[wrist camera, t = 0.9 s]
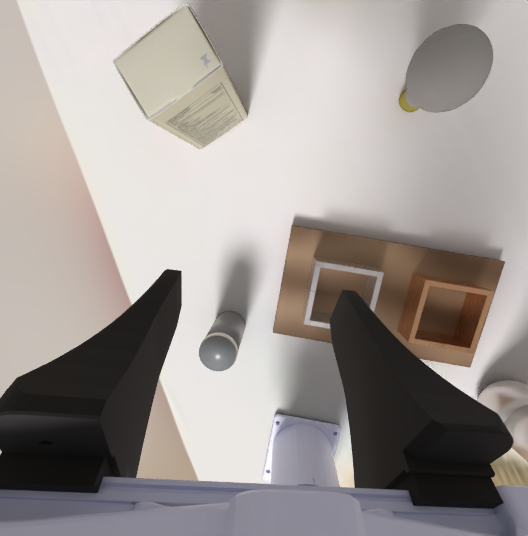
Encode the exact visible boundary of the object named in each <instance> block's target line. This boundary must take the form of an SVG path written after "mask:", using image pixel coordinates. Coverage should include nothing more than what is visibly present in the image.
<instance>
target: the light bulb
mask: <svg viewBox="0 0 528 536" xmlns="http://www.w3.org/2000/svg"><path fill="white" fill-rule="evenodd" d="M492 62H493V50H492V45H491V42H490V40H489V38H488V37H487V35H486V34H485V33H484V32H483V31H482V30H480V29H479V28H477V27H475V26H472V25H467V24H457V25H452V26H448V27H446V28H443V29H440V30H438V31H437V32H435V33H433V34H432V35H431V36H429V37H428V38H427V39H426V40H425V41H424V42H423V43H422V45H421V46H420V47H419V48H418V49H417V50H416V52H415V53H414V55H413V57H412V59H411V62H410V64H409V67H408V70H407V75H406V87H407V89H406V90H405V91H404V92H403V93H402V94H401V96H400V98H399V104H400V106H401V108H402V109H403V110H405V111H407V112H413V111H415V110H417V109H419V108H421V109H423V110H425V111H428V112H445V111H450V110H453V109H455V108H458V107H459V106H461V105H463V104H464V103H466V102H467V101H469V100H470V99H472V98H473V97H474V96H475V95H476V94H477V93H478V91H479V90H480V89H481V87H482V86H483V84H484V83H485V81H486V80H487V78H488V75H489V73H490V70H491V66H492Z"/></svg>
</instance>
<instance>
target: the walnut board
mask: <svg viewBox="0 0 528 536" xmlns="http://www.w3.org/2000/svg"><path fill="white" fill-rule="evenodd" d="M313 256H315V257H321V258H327V259H333V260H339V261H344V262H350V263H356V264H362V265H368V266H374V267H376V268H378V269H379V270H381V271H382V272H384V274H383V278H382V282H381V286H380V290H379V294H378V298H377V302H376V306H375V310H374V313H375V315H376V316H377V317H378V318H379V319H380V320H381V322H382V323H383V324H384V325H385V326H386V327H387V328H388V329H389V330H390V331H391V333H392V334H393V335H394V336H395V337H396V338H397V339H398V340H399V341H400V342H401V343H402V344H403V345H404V346H405V347H406V348H407V349H409V350H410V351H411V352H412V353H413V354H414V355H415V356H416V357H417V358H419V359H425V360H431V361H436V362H442V363H448V364H453V365H459V366H465V367H470V366H471V363H472V360H473V357H474V354H475V352H474V354H471V353H465V352H460V351H454V350H448V349H443V348H437V347H431V346H425V345H420V344H414V343H408V342H407V341H406V340H405V338H404V337H403V336H402V335H401V334H400V333H399V332H398V331H397V329H398V326H399V322H400V318H401V315H402V311H403V307H404V303H405V300H406V296H407V292H408V289H409V285H410V281H411V277H412V274H413V273H415V274H421V275H427V276H433V277H439V278H444V279H450V280H456V281H462V282H468V283H474V284H477V285H479V286H482V287H484V288H487V289H489V290H492V291H494V294H495V291H496V288H497V285H498V282H499V279H500V276H501V273H502V269H503V266H504V263H505V262H504V261H500V260H495V259H489V258H483V257H477V256H471V255H465V254H460V253H454V252H448V251H442V250H436V249H430V248H424V247H418V246H412V245H406V244H400V243H394V242H388V241H382V240H376V239H370V238H364V237H358V236H352V235H346V234H340V233H334V232H328V231H323V230H317V229H311V228H305V227H299V226H293V225H292V228H291V234H290V239H289V245H288V250H287V256H286V261H285V267H284V272H283V278H282V284H281V289H280V295H279V300H278V306H277V311H276V317H275V322H274V328H273V333H278V334H283V335H289V336H295V337H300V338H306V339H312V340H317V341H323V342H329V343H332V338H331V330H330V329H329V328H323V327H317V326H312V325H306V324H304V323H303V317H302V311H303V306H304V301H305V296H306V291H307V286H308V281H309V276H310V271H311V266H312V261H313ZM367 276H368V275H364V274H358V273H352V272H346V271H340V270H335V269H329V268H323V267H321V268H320V272H319V277H318V282H317V287H316V292H315V297H314V302H313V307H312V311H314V312H319V313H325V314H331V315H332V313H333V311H334V309H335V306H336V304H337V301H338V299H339V296H340V294H341V292H342V289H343V290H351V291H356V292H357V293H358V294H359V296H360V297H361V298H362V297H363V293H364V289H365V284H366V280H367ZM466 294H467V292H463V291H458V290H452V289H446V288H440V287H434V286H429V289H428V293H427V297H426V300H425V304H424V307H423V311H422V314H421V318H420V321H419V325H418V328H417V330H423V331H428V332H434V333H440V334H445V335H451V336H454V333H455V330H456V327H457V323H458V320H459V317H460V314H461V311H462V307H463V304H464V301H465V298H466ZM494 294H493V297H494ZM493 297H492V300H493ZM492 300H491V303H492ZM491 303H490V306H491ZM490 306H489V309H490ZM489 309H488V312H489ZM488 312H487V315H488ZM487 315H486V318H487ZM486 318H485V321H486ZM485 321H484V324H485ZM484 324H483V327H484ZM483 327H482V330H483ZM482 330H481V333H482ZM481 333H480V336H481ZM479 339H480V337H479ZM478 342H479V340H478ZM477 345H478V343H477ZM476 348H477V346H476ZM475 351H476V349H475Z"/></svg>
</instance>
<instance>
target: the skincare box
mask: <svg viewBox="0 0 528 536" xmlns="http://www.w3.org/2000/svg"><path fill="white" fill-rule="evenodd" d="M113 63H114V65H115V67H116V69H117V70H118V72H119V74H120V76H121V77H122V79H123V81H124V83H125V84H126V86H127V88H128V90H129V91H130V93H131V95H132V96H133V98H134V100H135V101H136V103H137V105H138V106H139V108H140V110H141V111H142V113H143V115H144V116H145V118H146V119H147V120H149V121H151V122H153V123H154V124H156V125H158V126H160V127H162V128H163V129H165V130H167V131H168V132H170V133H172V134H174V135H175V136H177V137H179V138H181V139H183V140H184V141H186V142H188V143H189V144H191V145H193V146H195V147H196V148H198V149H202V148H203V147H205V146H206V145H208V144H210V143H211V142H213V141H214V140H216V139H217V138H219V137H220V136H222V135H223V134H224V133H226V132H227V131H229V130H230V129H232V128H233V127H234V126H236V125H237V124H238V123H240V122H241V121H242V120H244V119H245V118H247V116H248V115H247V113H246V111H245V109H244V106H243V104H242V102H241V100H240V98H239V96H238V94H237V92H236V90H235V88H234V86H233V84H232V82H231V80H230V77H229V75H228V73H227V71H226V69H225V67H224V65H223V63H222V61H221V59H220V57H219V55H218V53H217V51H216V50H215V48H214V46H213V44H212V42H211V41H210V39H209V37H208V35H207V33H206V32H205V30H204V28H203V26H202V25H201V23H200V21H199V20H198V18H197V16H196V15H195V13H194V12H193V10H192V8H191V7H190V5H189V4H188V3H185V4H183V5H182V6H181V7H179V8H177V9H176V10H175V11H174V12H172V13H171V14H169V15H168V16H167V17H165V18H164V19H163V20H161V21H160V22H159V23H158V24H156V25H155V26H154V27H153V28H151V29H150V30H149V31H148V32H146V33H145V34H144V35H143V36H142V37H140V38H139V39H138V40H137V41H136V42H134V43H133V44H132V45H131V46H129V47H128V48H127V49H126V50H125V51H124V52H123V53H121V54H120V55H119V56H118V57H117V58H116V59H114V61H113Z"/></svg>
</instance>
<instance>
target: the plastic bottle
mask: <svg viewBox="0 0 528 536" xmlns="http://www.w3.org/2000/svg"><path fill="white" fill-rule="evenodd" d="M478 402H479V403H481V404H483V405H484V406H486V407H488V408H489V409H491V410H493V411H494V412H496V413H498V415H499V416H500V418H501V419H502V421H503V422H504V424H505V426H506V427H507V429H508V430H509V432H510V434H511V435H512V437H513V440H514V443H513V445H512V448H513V449H514V450H515V451H516V452H517V453H518V454H519V455H521V456H522V457H523V458H524V459H525V460H526V461H527V462H528V385H526V384H524V383H522V382H519V381H511V380H503V381H497V382H494V383H492V384H490V385H488V386H487V387H486V388H485V389H483V391H482V392H481V393H480V395H479V398H478Z"/></svg>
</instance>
